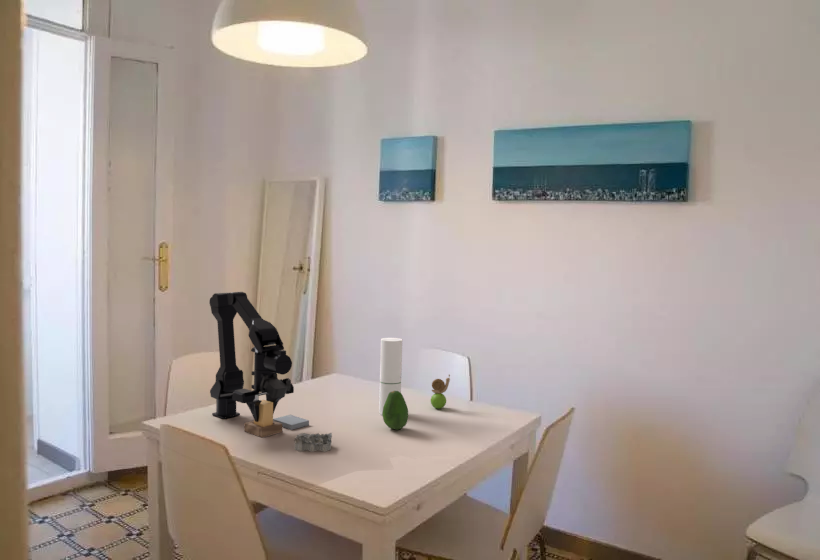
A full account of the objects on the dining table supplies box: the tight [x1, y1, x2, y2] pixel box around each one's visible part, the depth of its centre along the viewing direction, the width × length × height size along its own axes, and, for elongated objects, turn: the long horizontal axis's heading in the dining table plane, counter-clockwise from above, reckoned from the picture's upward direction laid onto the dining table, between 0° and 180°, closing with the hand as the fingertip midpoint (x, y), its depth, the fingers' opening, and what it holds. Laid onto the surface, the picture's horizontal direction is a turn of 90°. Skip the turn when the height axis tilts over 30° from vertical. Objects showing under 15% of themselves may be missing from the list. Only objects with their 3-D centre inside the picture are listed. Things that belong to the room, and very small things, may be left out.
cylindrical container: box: [378, 337, 403, 416], centre depth 223 cm, size 7×7×25 cm
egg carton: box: [293, 432, 333, 453], centre depth 187 cm, size 10×7×4 cm
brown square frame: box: [243, 420, 283, 438], centre depth 200 cm, size 8×8×2 cm
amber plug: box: [253, 399, 274, 427], centre depth 200 cm, size 4×4×9 cm
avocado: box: [381, 391, 409, 431], centre depth 206 cm, size 8×8×12 cm
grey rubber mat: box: [273, 414, 310, 431], centre depth 208 cm, size 9×7×2 cm
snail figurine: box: [430, 374, 451, 410], centre depth 231 cm, size 5×6×12 cm
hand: (263, 420), depth 200 cm, fingers open, 5 cm apart
